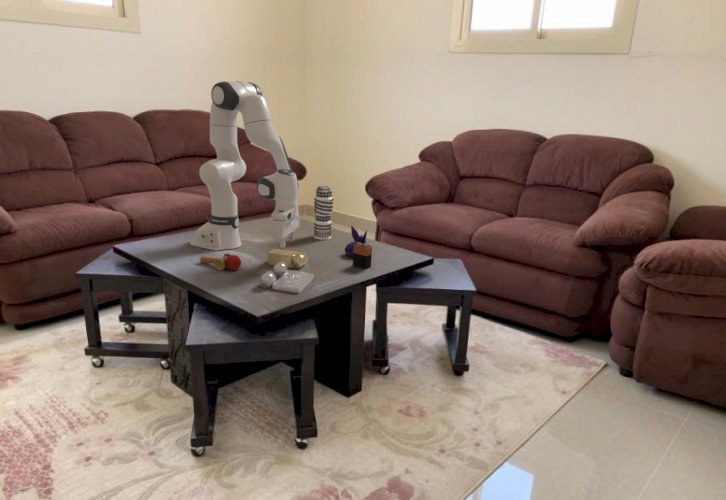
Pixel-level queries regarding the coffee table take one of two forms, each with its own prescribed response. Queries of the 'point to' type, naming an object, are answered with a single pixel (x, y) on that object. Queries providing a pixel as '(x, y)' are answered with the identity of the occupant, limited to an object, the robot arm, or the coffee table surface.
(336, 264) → the coffee table surface
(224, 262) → the kendama
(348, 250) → the creature
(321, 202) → the black white tall cylinder
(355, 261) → the battery
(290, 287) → the plate with metal balls
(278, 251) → the gold bar
